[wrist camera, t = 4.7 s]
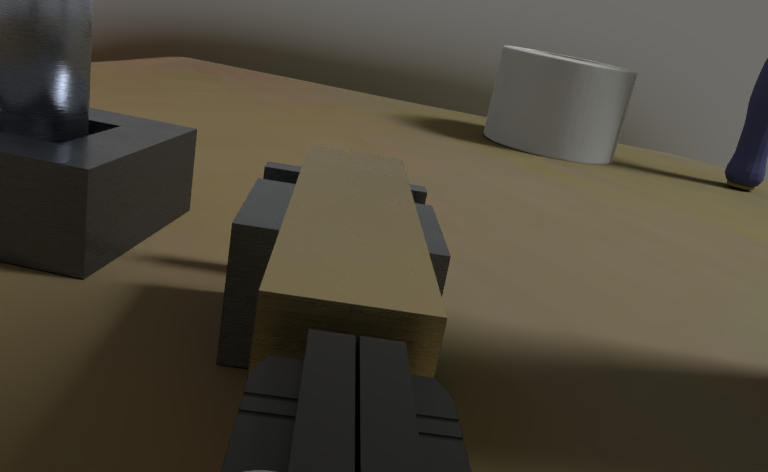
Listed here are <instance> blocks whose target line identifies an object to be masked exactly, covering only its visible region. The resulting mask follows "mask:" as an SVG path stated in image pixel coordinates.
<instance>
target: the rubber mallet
mask: <svg viewBox="0 0 768 472" xmlns="http://www.w3.org/2000/svg"><path fill="white" fill-rule="evenodd" d="M767 157H768V59H767V60H766V62H765V64H764V66H763V68H762V70H761V72H760V74H759V77H758V79H757V81H756V84H755V86H754V89H753V92H752V95H751V97H750V101H749V106H748V110H747V116H746V121H745V124H744V127H743V131H742V133H741V136H740V140H739V142H738V145H737V148H736V151H735V153H734V155H733V157H732V159H731V160H730V162H729V164H728V165H727V167H726V170H725V175H726V179H727V184H729V185H730V186H732V187H734V188H737V189H741V190H754V187H756V186H758V185H759V184H760V183H761V182H762V181H763V180H764V176H765V168H766V161H767Z"/></svg>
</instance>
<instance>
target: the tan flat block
mask: <svg viewBox="0 0 768 472" xmlns="http://www.w3.org/2000/svg"><path fill="white" fill-rule="evenodd" d="M446 322H447V314H446V311H445V307H444V304H443V300H442V297H441V293H440V290H439V286H438V283H437V279H436V276H435V272H434V269H433V265H432V262H431V258H430V255H429V251H428V248H427V244H426V241H425V237H424V234H423V230H422V227H421V223H420V220H419V216H418V213H417V209H416V206H415V202H414V199H413V195H412V192H411V188H410V185H409V181H408V178H407V174H406V171H405V167H404V164H403V160H400V159H394V158H388V157H382V156H376V155H370V154H364V153H357V152H351V151H345V150H339V149H333V148H327V147H321V146H315V145H309V148H308V151H307V153H306V156H305V159H304V162H303V165H302V168H301V171H300V174H299V176H298V179H297V182H296V185H295V188H294V191H293V194H292V196H291V199H290V202H289V205H288V208H287V211H286V214H285V217H284V219H283V222H282V225H281V228H280V231H279V234H278V237H277V239H276V242H275V245H274V248H273V251H272V254H271V257H270V260H269V262H268V265H267V268H266V271H265V274H264V277H263V280H262V282H261V285H260V288H259V292H258V300H257V308H256V316H255V324H254V331H253V339H252V347H251V355H250V363H249V370H248V376H249V373H250V371H251V370H252V369H253V368H254V367H256V366H257V365H258V364H259V363H261V362H262V361H263V360H264V359H266V358H267V357H268V356H276V357H284V358H291V359H299V360H304V357H305V351H306V344H307V337H308V331H309V329H315V330H322V331H330V332H337V333H344V334H351V335H355V348H356V343H357V339H358V336H367V337H374V338H381V339H388V340H395V341H402V342H405V343H406V347H407V354H408V361H409V368H410V374H411V375H418V376H425V377H433V378H434V377H435V372H436V367H437V363H438V358H439V354H440V349H441V345H442V340H443V336H444V331H445V326H446ZM247 380H248V378H247Z"/></svg>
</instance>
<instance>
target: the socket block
mask: <svg viewBox="0 0 768 472" xmlns="http://www.w3.org/2000/svg"><path fill="white" fill-rule="evenodd" d="M196 135H197V129H195V128H190V127H185V126H180V125H174V124H169V123H164V122H159V121H154V120H149V119H144V118H139V117H134V116H129V115H124V114H119V113H113V112H108V111H103V110H98V109H93V108H89V126H88V136H85V137H81V138H78V139H74V140H71V141H67V142H64V143H60V144H59V143H54V142H49V141H44V140H39V139H34V138H29V137H24V136H19V135H14V134H9V133H4V132H0V261H1V262H6V263H10V264H15V265H20V266H25V267H29V268H34V269H39V270H43V271H48V272H53V273H57V274H62V275H67V276H71V277H76V278H81V279H84V278H86V277H88V276H89V275H91V274H92V273H94V272H95V271H97V270H98V269H100V268H101V267H103V266H104V265H106V264H107V263H109V262H111V261H112V260H114V259H115V258H117V257H118V256H120V255H121V254H123V253H124V252H126V251H127V250H129V249H131V248H132V247H134V246H135V245H137V244H138V243H140V242H141V241H143V240H144V239H146V238H147V237H149V236H150V235H152V234H154V233H155V232H157V231H158V230H160V229H161V228H163V227H164V226H166V225H167V224H169V223H170V222H172V221H173V220H175V219H177V218H178V217H180V216H181V215H183V214H184V213H186V212H187V211H189V210H190V200H191V189H192V178H193V168H194V157H195V146H196Z"/></svg>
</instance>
